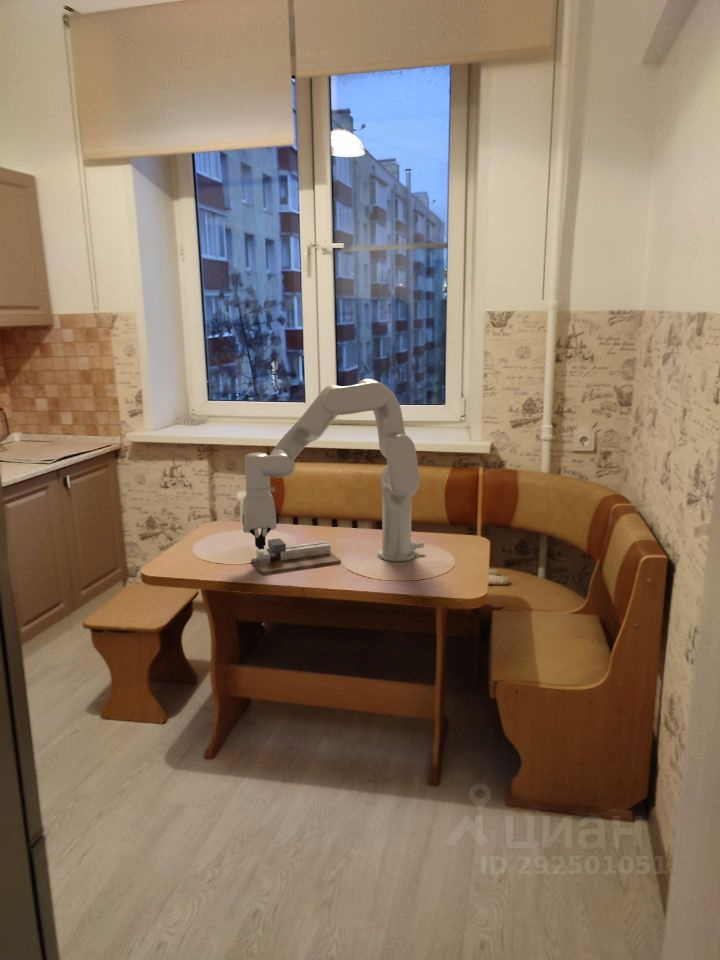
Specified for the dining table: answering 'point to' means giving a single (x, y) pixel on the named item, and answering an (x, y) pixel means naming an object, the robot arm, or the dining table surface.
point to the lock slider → (276, 545)
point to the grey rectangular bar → (302, 552)
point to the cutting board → (295, 563)
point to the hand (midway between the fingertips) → (260, 548)
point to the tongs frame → (264, 554)
